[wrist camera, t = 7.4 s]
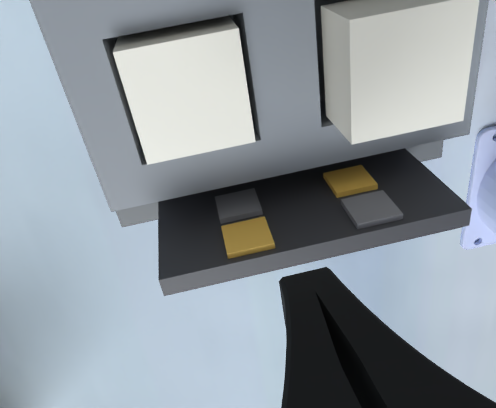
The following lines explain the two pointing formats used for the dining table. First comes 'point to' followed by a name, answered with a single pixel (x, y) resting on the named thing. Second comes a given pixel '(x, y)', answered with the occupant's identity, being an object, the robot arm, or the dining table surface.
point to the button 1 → (186, 88)
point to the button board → (250, 147)
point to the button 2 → (396, 64)
